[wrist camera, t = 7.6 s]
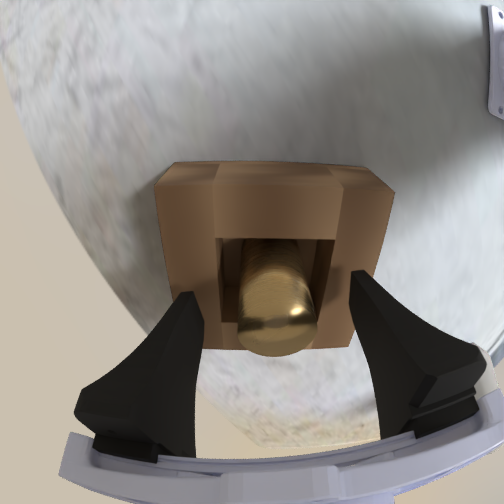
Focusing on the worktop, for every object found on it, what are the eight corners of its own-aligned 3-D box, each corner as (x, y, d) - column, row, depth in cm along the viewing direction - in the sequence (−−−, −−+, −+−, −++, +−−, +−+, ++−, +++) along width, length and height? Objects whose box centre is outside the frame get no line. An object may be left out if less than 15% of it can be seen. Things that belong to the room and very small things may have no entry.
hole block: (366, 167, 14) (395, 192, 11) (336, 308, 19) (348, 346, 16) (174, 162, 14) (153, 186, 11) (192, 307, 19) (184, 347, 16)
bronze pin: (296, 222, 15) (317, 299, 10) (300, 270, 17) (317, 351, 12) (236, 230, 15) (230, 309, 10) (246, 276, 17) (244, 359, 12)
